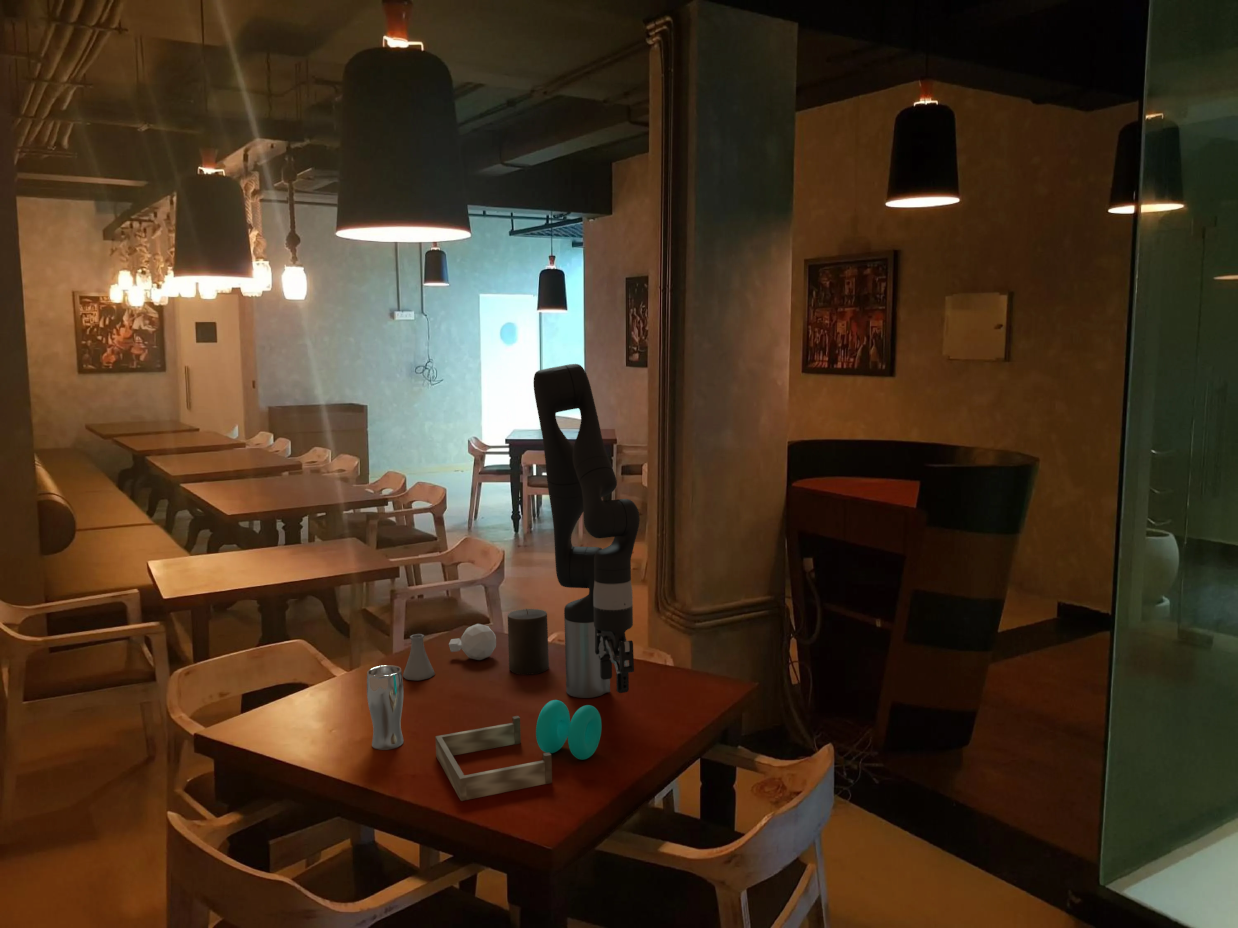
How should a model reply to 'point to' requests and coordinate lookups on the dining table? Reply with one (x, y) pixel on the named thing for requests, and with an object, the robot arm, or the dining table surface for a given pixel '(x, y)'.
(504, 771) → the box
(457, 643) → the perfume bottle
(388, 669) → the beer glass
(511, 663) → the pillar candle
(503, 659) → the dining table surface
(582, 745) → the teal diabolo
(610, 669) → the robot arm
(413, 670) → the flask
